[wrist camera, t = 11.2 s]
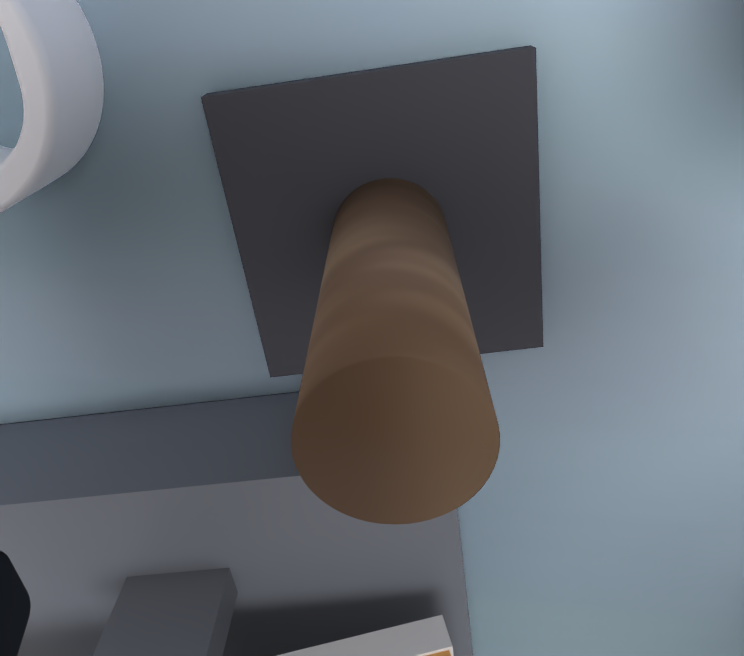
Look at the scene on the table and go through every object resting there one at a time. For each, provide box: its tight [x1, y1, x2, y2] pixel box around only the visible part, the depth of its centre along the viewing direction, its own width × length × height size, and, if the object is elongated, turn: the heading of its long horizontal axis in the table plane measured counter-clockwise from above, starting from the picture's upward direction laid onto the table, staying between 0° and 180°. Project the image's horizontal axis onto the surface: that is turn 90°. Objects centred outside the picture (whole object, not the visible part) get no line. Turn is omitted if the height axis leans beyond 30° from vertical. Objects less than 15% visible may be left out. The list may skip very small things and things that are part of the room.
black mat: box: [201, 46, 543, 377], centre depth 18 cm, size 8×8×1 cm
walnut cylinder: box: [291, 178, 500, 525], centre depth 13 cm, size 3×3×9 cm
